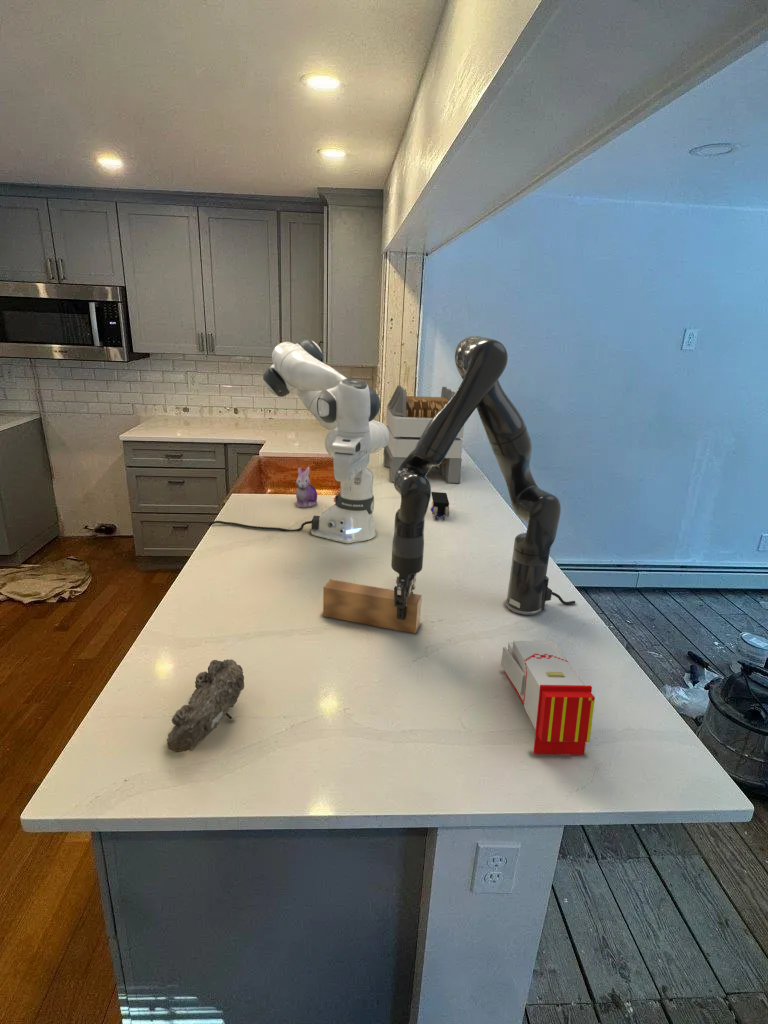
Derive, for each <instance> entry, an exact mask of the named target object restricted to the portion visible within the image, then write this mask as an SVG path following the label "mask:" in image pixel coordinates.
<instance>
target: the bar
mask: <svg viewBox="0 0 768 1024" xmlns="http://www.w3.org/2000/svg"><path fill="white" fill-rule="evenodd" d="M322 591H323V592H322V593H323V595H322V596H323V597H322V601H323V602H322V603H323V604H322V616H323V617H326V618H331V619H336V620H341V621H342V620H343V621H348V622H352V623H358V624H364V625H368V626H374V627H379V628H385V629H389V630H390V629H391V630H395V631H399V632H404V633H410V634H416V633H417V631H418V629H419V627H420V624H421V611H422V599H423V598H422V597H423V595H422V594H418V593H413V594H412V593H411V594H410V597H408V601H407V610H406V618H405V620H402V619H398V618H397V607H396V606H395V605H394V589H390V588H389V589H388V588H383V587H378V586H377V587H376V586H371V585H366V584H360V583H353V582H347V581H343V580H337V579H336V580H335V579H329V580H328V581H327V582H326V584H325V585H324V586H323V590H322ZM405 593H406V592H405Z"/></svg>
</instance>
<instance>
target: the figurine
mask: <svg viewBox="0 0 768 1024" xmlns="http://www.w3.org/2000/svg"><path fill="white" fill-rule="evenodd" d="M297 472H298V473H297V474H298V475H297V476H298V477H297V479H296V481H295V485H296V487H297V489H296V492H295V498H296V507H298V508H309V507H314V506H315V505H317V501H318V491H317V489H316V487H315V486H314V485H312V484H311V479H310V478H309V475H310V473H311V468H310V466H307V467H306V468H305V469H304V471H303V468H302V467H298V468H297Z"/></svg>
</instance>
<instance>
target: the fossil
mask: <svg viewBox="0 0 768 1024" xmlns="http://www.w3.org/2000/svg"><path fill="white" fill-rule="evenodd" d="M243 670H244V669H243V667H242V665H240V664H237V662H236V661H235V660H234V659H232V658H231V659H227V658H226V659H224V660H223V661H222V660H217V659H212V660H211V661H210V663H209V665H208V666H207V671H201V672H199V673H198V674H197V675H196V676H195V680H194V684H195V685H194V687H195V689H194V690H193V693H192V694H191V697H190V698H189V700H188V704H184V705H182V706H181V707H180V709H177V710H176V711H175V713H174V715H173V716H172V718H171V723H172V724H173V727H172V730H171V731H170V732H168V734H167V738H166V741H167V742H166V745H167V749H168V750H169V751H173V752H174V753H176V754H178V753H182V752H188V751H189V752H192V751H193V750H195V748H196V747H197V746H199V744H200V743H201V742H203V741H204V740H205V739H206V738H207V737H208V736H209V735H210V734H211V733H212V732H214V730H215V729H217V727H218V726H219V724H220V722H221V721H222V720H223V719H224V718H225V716H226V717H227V719H229V720H233V717H232V715H230V714H229V710H230V709H231V708H234V706H235V704H236V703H237V702H238V699H239V697H240V695H241V693H242V691H243V690H245V689H244V688H245V675H244V671H243Z"/></svg>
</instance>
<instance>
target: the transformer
mask: <svg viewBox="0 0 768 1024" xmlns="http://www.w3.org/2000/svg"><path fill="white" fill-rule="evenodd" d="M440 393H441V394H440V396H415V395H414V396H413V395H412V396H411V395H407V394H408V393H407V390H406V389H404V388H403V387H402V385H399V384H398V385H397V386H396V388H395V390H394V392H393V394H392V395H391V398H390V400H389V402H388V404H387V405H386V413H385V414H386V415H385V423H386V425H385V426H386V427H387V429H388V431H389V442H388V444H387V445H386V446H385V447H384V448H383V466H384V467H388V468H389V475H388V476H389V477H388V478H389V480H390V482H391V483H394V477H395V474H396V472H397V470H398V468H399V467H400V465H401V464H402V463H403V462H404V460H405V459H406V458H407V457H408V455H409V454H410V453H411V452H412V451H413V450H414V449H415V447H416V445H417V443H418V442H419V439H420V437H421V436H422V434H423V432H424V430H425V428H426V427H427V425H428V424H429V422H430V421H431V419H432V418H433V417H434V416H435V415H436V413H437V412H438V411H439V410H440V409H441V408H442V407H443V406H444V405H445V404H446V403H447V402H448V401H449V400H450V399H451V398H452V397H453V395H454V394H455V393H456V391H453V390H452V389H451V388H447V386H442V387H441V392H440ZM464 429H465V424H464V425H463V427H462V429H461V430H460V432H459V433H458V435H457V437H456V438H455V440H454V442H453V444H452V446H451V447H450V449H449V451H448V453H447V455H446V456H445V458H444V460H443V461H442V463H441V464H440V465H439V466H436V468H437V470H438V469H439V473H440V474H441V475H443V478H444V479H445V481H446V482H447V483H449V484H455V483H456V484H459V483H461V472H462V461H463V460H462V453H463V442H464V441H463V440H462V439H463V438H464V431H465V430H464Z"/></svg>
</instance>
